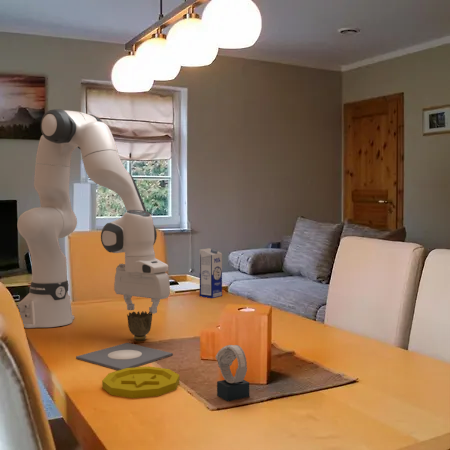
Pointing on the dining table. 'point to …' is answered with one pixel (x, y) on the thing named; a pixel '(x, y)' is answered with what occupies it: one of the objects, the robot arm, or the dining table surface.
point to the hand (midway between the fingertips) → (141, 311)
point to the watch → (231, 385)
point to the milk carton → (210, 273)
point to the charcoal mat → (124, 356)
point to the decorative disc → (140, 382)
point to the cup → (139, 324)
